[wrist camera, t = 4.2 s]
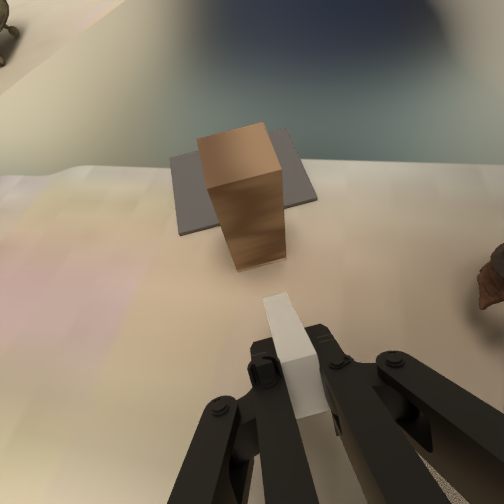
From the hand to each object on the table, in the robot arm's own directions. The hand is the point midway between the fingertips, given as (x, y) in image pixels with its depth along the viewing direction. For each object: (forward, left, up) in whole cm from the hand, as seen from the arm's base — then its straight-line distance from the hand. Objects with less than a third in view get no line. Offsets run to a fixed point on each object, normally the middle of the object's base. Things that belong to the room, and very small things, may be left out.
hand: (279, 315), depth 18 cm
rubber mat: (0, -18, -6) cm, 19 cm away
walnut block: (0, -9, -6) cm, 11 cm away
